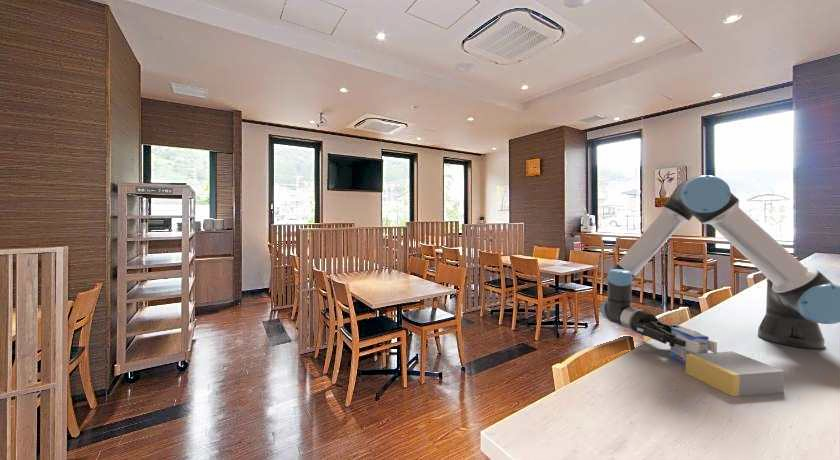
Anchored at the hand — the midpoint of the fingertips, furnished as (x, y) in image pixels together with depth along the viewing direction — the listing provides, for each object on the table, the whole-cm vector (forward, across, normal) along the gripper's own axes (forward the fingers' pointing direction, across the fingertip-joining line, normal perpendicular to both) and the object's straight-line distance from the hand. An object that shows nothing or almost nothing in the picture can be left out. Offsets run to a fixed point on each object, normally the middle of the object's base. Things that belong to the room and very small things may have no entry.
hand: (706, 347), depth 93 cm
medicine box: (-5, 0, -6) cm, 8 cm away
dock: (+7, 0, -6) cm, 9 cm away
